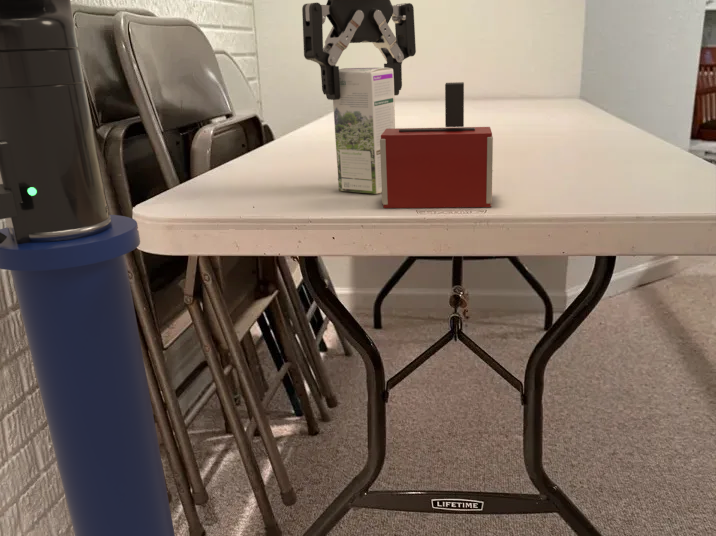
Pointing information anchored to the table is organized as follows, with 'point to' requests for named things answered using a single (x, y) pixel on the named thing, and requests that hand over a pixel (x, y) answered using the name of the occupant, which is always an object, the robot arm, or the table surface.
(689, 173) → the table surface
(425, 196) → the toaster
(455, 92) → the block
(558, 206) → the table surface
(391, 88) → the syrup box
